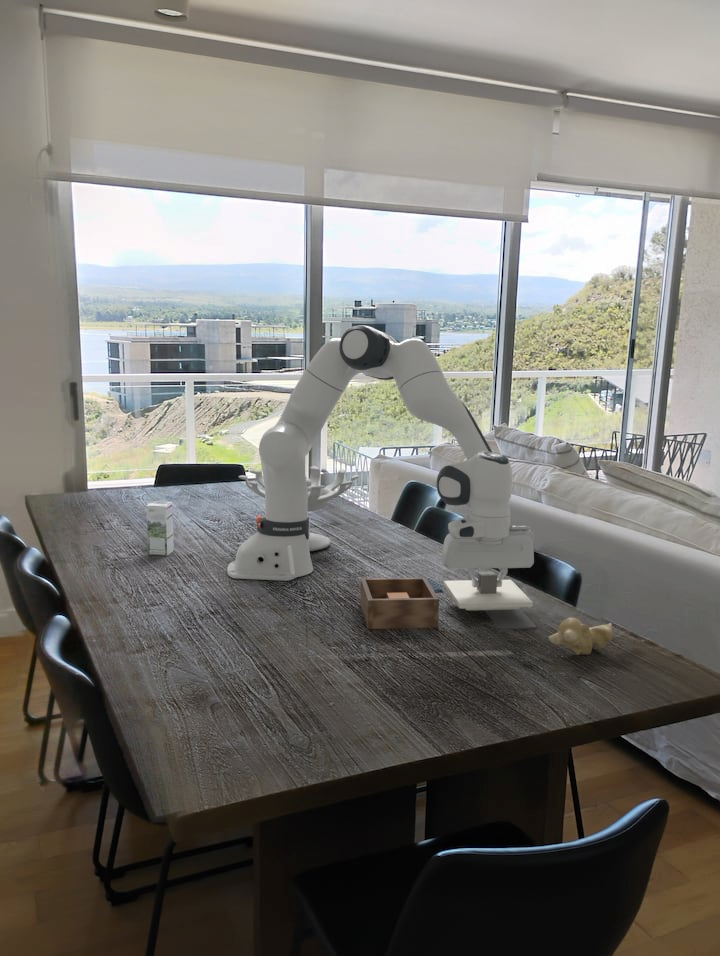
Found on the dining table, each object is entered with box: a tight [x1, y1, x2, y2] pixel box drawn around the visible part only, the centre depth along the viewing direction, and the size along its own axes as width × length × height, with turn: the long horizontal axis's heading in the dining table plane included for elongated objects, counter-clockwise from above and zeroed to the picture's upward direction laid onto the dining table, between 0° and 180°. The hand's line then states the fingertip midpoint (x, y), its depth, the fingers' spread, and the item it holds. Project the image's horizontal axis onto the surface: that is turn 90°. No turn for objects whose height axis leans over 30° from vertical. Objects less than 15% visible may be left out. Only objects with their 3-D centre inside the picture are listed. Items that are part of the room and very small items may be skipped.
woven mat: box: [427, 577, 444, 593], centre depth 191 cm, size 10×11×2 cm
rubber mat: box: [483, 608, 538, 631], centre depth 175 cm, size 18×18×1 cm
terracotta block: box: [387, 592, 409, 599], centre depth 171 cm, size 4×4×4 cm
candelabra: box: [238, 465, 360, 552], centre depth 228 cm, size 34×35×27 cm
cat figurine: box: [548, 617, 614, 656], centre depth 154 cm, size 8×7×12 cm
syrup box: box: [146, 500, 175, 557], centre depth 218 cm, size 6×6×14 cm
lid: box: [443, 571, 534, 611], centre depth 174 cm, size 16×16×6 cm
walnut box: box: [359, 577, 440, 630], centre depth 170 cm, size 15×15×7 cm
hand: (486, 586), depth 174 cm, fingers closed on lid, 3 cm apart
